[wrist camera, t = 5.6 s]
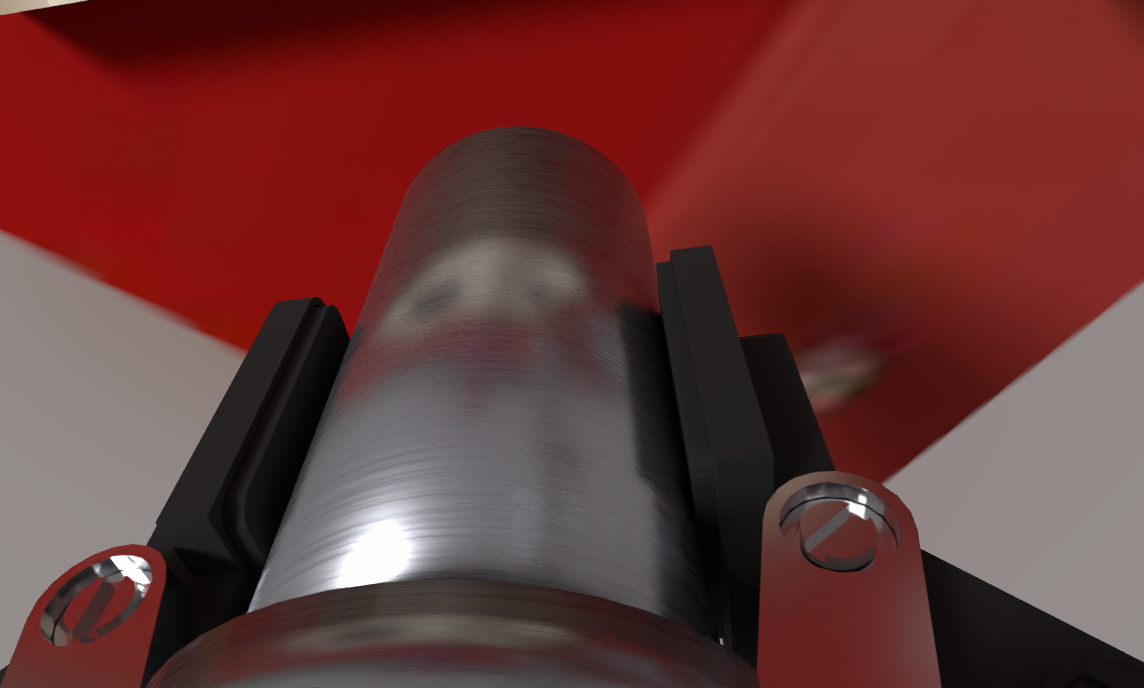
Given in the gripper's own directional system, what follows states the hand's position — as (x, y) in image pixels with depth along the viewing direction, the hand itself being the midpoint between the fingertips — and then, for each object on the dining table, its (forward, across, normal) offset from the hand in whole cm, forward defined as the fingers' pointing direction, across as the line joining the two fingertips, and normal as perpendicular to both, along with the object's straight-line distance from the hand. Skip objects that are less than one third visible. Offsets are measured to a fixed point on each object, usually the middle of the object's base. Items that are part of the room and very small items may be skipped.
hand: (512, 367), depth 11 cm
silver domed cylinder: (+3, 0, 0) cm, 3 cm away
